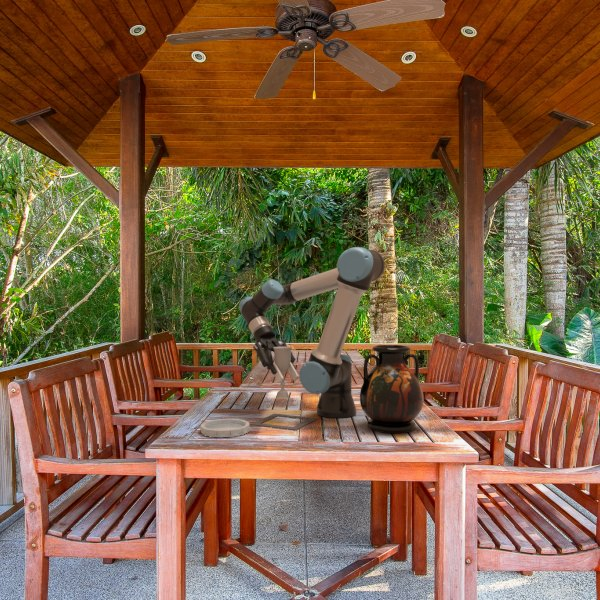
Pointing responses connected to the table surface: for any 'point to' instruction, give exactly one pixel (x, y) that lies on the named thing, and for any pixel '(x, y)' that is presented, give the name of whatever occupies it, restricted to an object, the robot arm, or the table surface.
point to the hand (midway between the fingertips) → (288, 379)
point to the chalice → (282, 366)
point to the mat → (307, 421)
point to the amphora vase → (391, 390)
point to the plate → (224, 427)
